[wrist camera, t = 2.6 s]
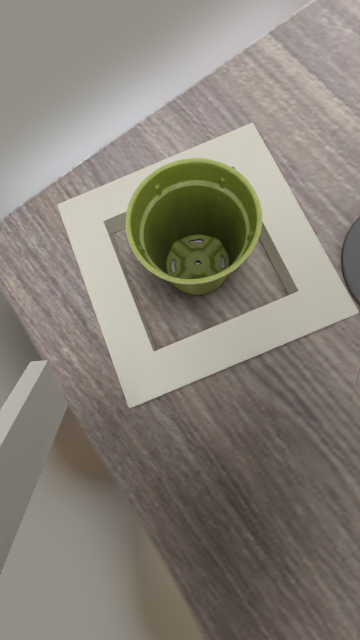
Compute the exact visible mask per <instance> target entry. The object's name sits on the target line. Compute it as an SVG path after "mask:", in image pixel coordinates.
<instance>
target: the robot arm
mask: <svg viewBox="0 0 360 640" xmlns="http://www.w3.org/2000/svg"><path fill="white" fill-rule="evenodd" d="M356 386H357V387H358V389H359V390H360V369H359V373H358V377H357V381H356ZM67 406H68V404H67V402H66V399H65V397H64V395H63V393H62V391H61V388H60V386H59V384H58V382H57V379H56V377H55V375H54V373H53V370H52V368H51V366H50V364H49V362H48V360H46V361H34V362H30V364H29V365H28V367H27V368H26V370H25V372H24V373H23V375H22V376H21V378H20V380H19V381H18V383H17V384H16V386H15V388H14V389H13V391H12V392H11V394H10V396H9V397H8V399H7V400H6V402H5V404H4V405H3V407H2V409H1V410H0V573H1V571H2V568H3V566H4V563H5V561H6V558H7V556H8V553H9V551H10V548H11V546H12V543H13V541H14V538H15V536H16V533H17V531H18V528H19V526H20V523H21V521H22V518H23V516H24V513H25V511H26V508H27V506H28V503H29V501H30V498H31V496H32V493H33V491H34V488H35V486H36V483H37V481H38V478H39V476H40V473H41V471H42V468H43V466H44V463H45V461H46V459H47V456H48V453H49V451H50V449H51V446H52V444H53V441H54V438H55V436H56V433H57V431H58V428H59V426H60V424H61V421H62V419H63V416H64V413H65V411H66V408H67Z"/></svg>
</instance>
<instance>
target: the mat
mask: <svg viewBox="0 0 360 640" xmlns="http://www.w3.org/2000/svg"><path fill="white" fill-rule="evenodd" d="M341 259H342V271H343V276H344V279H345V282H346V285H347V287H348V289H349V291H350V293H351V294H352V296H353V297H354V299H355V300H356V302H357V303H358V304H359V305H360V218H359V219H358V220H357V221H356V222H355V223H354V225H353V226H352V227H351V229H350V231H349V232H348V234H347V237H346V239H345V241H344V245H343V249H342V257H341Z"/></svg>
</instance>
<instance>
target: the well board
mask: <svg viewBox="0 0 360 640" xmlns="http://www.w3.org/2000/svg"><path fill="white" fill-rule="evenodd" d="M191 158H205V159H210V160H214V161H218V162H221V163H224V164H226V165H228V166H231V167H232V168H234V169H235V170H237V171H238V172H239V173H241V174H242V175H243V176H244V177H245V178H246V179H247V180H248V181H249V183H250V184H251V185H252V187H253V188H254V190H255V192H256V194H257V196H258V198H259V201H260V205H261V209H262V228H261V233H260V236H259V238H260V240H261V242H262V244H263V245H264V247H265V249H266V251H267V253H268V255H269V257H270V259H271V261H272V263H273V265H274V267H275V269H276V271H277V273H278V275H279V277H280V279H281V281H282V283H283V285H284V287H285V288H286V290H287V292H288V294H289V295H288V296H286V297H283V298H281V299H278V300H276V301H274V302H271V303H269V304H266V305H264V306H262V307H259V308H257V309H254V310H252V311H250V312H247V313H245V314H243V315H240V316H238V317H235V318H233V319H231V320H228V321H226V322H223V323H221V324H219V325H216V326H214V327H211V328H209V329H207V330H204V331H202V332H199V333H197V334H195V335H192V336H190V337H187V338H185V339H183V340H180V341H178V342H175V343H173V344H171V345H168V346H166V347H163V348H161V349H159V350H156V347H155V344H154V342H153V339H152V337H151V334H150V332H149V329H148V326H147V324H146V321H145V319H144V316H143V314H142V311H141V308H140V306H139V303H138V301H137V298H136V296H135V293H134V290H133V288H132V285H131V283H130V280H129V278H128V275H127V273H126V270H125V267H124V265H123V262H122V260H121V257H120V255H119V252H118V249H117V247H116V244H115V242H114V239H113V237H112V233H115V232H117V231H120V230H122V229H124V228H126V225H125V221H126V212H127V208H128V204H129V202H130V199H131V197H132V195H133V193H134V192H135V190H136V189H137V187H138V186H139V185H140V183H141V182H142V181H143V180H144V179H145V178H146V177H148V176H149V175H150V174H151V173H153V172H154V171H155V170H157V169H158V168H160V167H162V166H164V165H166V164H169V163H172V162H175V161H178V160H182V159H191ZM57 206H58V208H59V211H60V214H61V217H62V220H63V223H64V225H65V228H66V231H67V234H68V237H69V240H70V242H71V245H72V248H73V251H74V254H75V257H76V259H77V262H78V265H79V268H80V271H81V274H82V276H83V279H84V282H85V285H86V288H87V291H88V293H89V296H90V299H91V302H92V305H93V308H94V310H95V313H96V316H97V319H98V322H99V325H100V327H101V330H102V333H103V336H104V339H105V342H106V344H107V347H108V350H109V353H110V356H111V359H112V361H113V364H114V367H115V370H116V373H117V376H118V378H119V381H120V384H121V387H122V390H123V393H124V395H125V398H126V401H127V404H128V407H129V408H132V407H136V406H138V405H141V404H143V403H145V402H148V401H150V400H153V399H155V398H157V397H160V396H162V395H165V394H167V393H169V392H172V391H174V390H177V389H179V388H181V387H184V386H186V385H189V384H191V383H193V382H196V381H198V380H201V379H203V378H205V377H208V376H210V375H213V374H215V373H217V372H220V371H222V370H225V369H227V368H229V367H232V366H234V365H237V364H239V363H241V362H244V361H246V360H249V359H251V358H253V357H256V356H258V355H260V354H263V353H265V352H268V351H270V350H272V349H275V348H277V347H280V346H282V345H284V344H287V343H289V342H292V341H294V340H296V339H299V338H301V337H304V336H306V335H308V334H311V333H313V332H316V331H318V330H320V329H323V328H325V327H328V326H330V325H332V324H335V323H337V322H340V321H342V320H344V319H347V318H349V317H351V316H353V315H355V314H357V313H359V312H358V310H357V308H356V306H355V304H354V303H353V301H352V299H351V297H350V295H349V294H348V292H347V290H346V288H345V287H344V285H343V283H342V281H341V279H340V278H339V276H338V274H337V272H336V270H335V269H334V267H333V265H332V263H331V262H330V260H329V258H328V256H327V254H326V253H325V251H324V249H323V247H322V245H321V244H320V242H319V240H318V238H317V236H316V235H315V233H314V231H313V229H312V228H311V226H310V224H309V222H308V220H307V219H306V217H305V215H304V213H303V211H302V210H301V208H300V206H299V204H298V203H297V201H296V199H295V197H294V195H293V194H292V192H291V190H290V188H289V186H288V185H287V183H286V181H285V179H284V178H283V176H282V174H281V172H280V170H279V169H278V167H277V165H276V163H275V161H274V160H273V158H272V156H271V154H270V152H269V151H268V149H267V147H266V145H265V144H264V142H263V140H262V138H261V136H260V135H259V133H258V131H257V129H256V127H255V126H254V124H253V123H250V124H248V125H246V126H243V127H241V128H239V129H236V130H234V131H231V132H229V133H227V134H224V135H222V136H219V137H217V138H215V139H212V140H210V141H208V142H205V143H203V144H200V145H198V146H196V147H193V148H191V149H189V150H186V151H184V152H181V153H179V154H177V155H174V156H172V157H169V158H167V159H165V160H162V161H160V162H158V163H155V164H153V165H150V166H148V167H146V168H143V169H141V170H139V171H136V172H134V173H131V174H129V175H127V176H124V177H122V178H119V179H117V180H115V181H112V182H110V183H108V184H105V185H103V186H100V187H98V188H96V189H93V190H91V191H88V192H86V193H84V194H81V195H79V196H77V197H74V198H72V199H69V200H67V201H65V202H62V203H60V204H58V205H57Z"/></svg>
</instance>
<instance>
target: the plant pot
mask: <svg viewBox="0 0 360 640" xmlns="http://www.w3.org/2000/svg"><path fill="white" fill-rule="evenodd" d="M125 225H126V234H127V238H128V242H129V245H130V247H131V249H132V251H133V253H134V255H135V256H136V258H137V259H138V260H139V262H140V263H141V264H142V265H143V266H144V267H145V268H146V269H147V270H148V271H150V272H151V273H152V274H154V275H155V276H157V277H159V278H161V279H163V280H166V281H168V282H171V283H172V284H173V285H174V286H175V287H176V288H177V289H179V290H180V291H182V292H184V293H187V294H191V295H203V294H207V293H210V292H212V291H214V290H216V289H217V288H218V287H219V286H221V285H222V284H223V282H224V281H225V280H226V278H227V277H228V275H229V274H230V273H232V272H233V271H235V270H236V269H237V268H239V267H240V266H241V265H242V264H243V263H244V262H245V261H246V260H247V258H248V257H249V256H250V255H251V253H252V251H253V250H254V248H255V246H256V244H257V242H258V239H259V236H260V233H261V228H262V209H261V205H260V201H259V198H258V196H257V194H256V192H255V190H254V188H253V187H252V185H251V184H250V183H249V181H248V180H247V179H246V178H245V177H244V176H243V175H242V174H241V173H239V172H238V171H237V170H235V169H234V168H232V167H231V166H228V165H226V164H224V163H221V162H218V161H214V160H210V159H205V158H191V159H182V160H178V161H175V162H172V163H169V164H166V165H164V166H162V167H160V168H158V169H157V170H155V171H154V172H153V173H151V174H150V175H149V176H148V177H146V178H145V179H144V180H143V181H142V182H141V183H140V185H139V186H138V187H137V189H136V190H135V192H134V193H133V195H132V197H131V199H130V202H129V204H128V208H127V212H126V221H125ZM196 239H202V240H203V243H191V244H190V243H189V242H190V241H191V240H196ZM221 255H222V256H223V257H224V260H225V267H224V269H221V257H220V256H221ZM173 259H175V270H176V272H175V273H173V272H172V270H171V262H172V260H173ZM196 261H200V262H201V264H200V265H195V262H196Z"/></svg>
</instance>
